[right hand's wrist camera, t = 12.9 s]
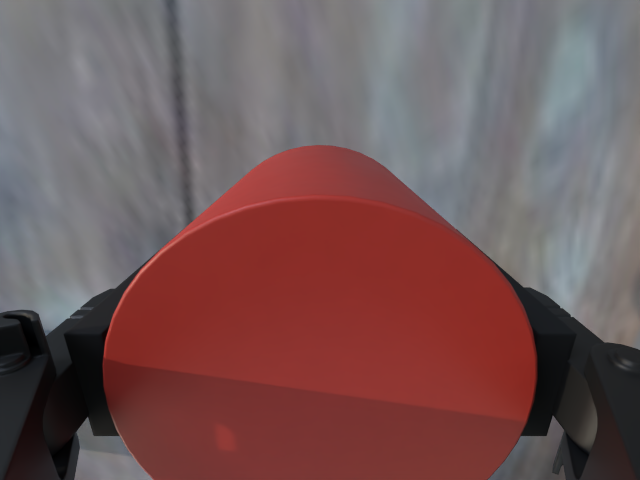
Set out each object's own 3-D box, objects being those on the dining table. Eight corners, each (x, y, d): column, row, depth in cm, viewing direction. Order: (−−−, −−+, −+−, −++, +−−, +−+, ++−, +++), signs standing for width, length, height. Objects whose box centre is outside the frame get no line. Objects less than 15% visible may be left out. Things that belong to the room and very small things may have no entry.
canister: (259, 351, 17) (204, 569, 9) (186, 180, 14) (8, 274, 6) (436, 307, 16) (553, 504, 8) (397, 116, 13) (518, 126, 5)
